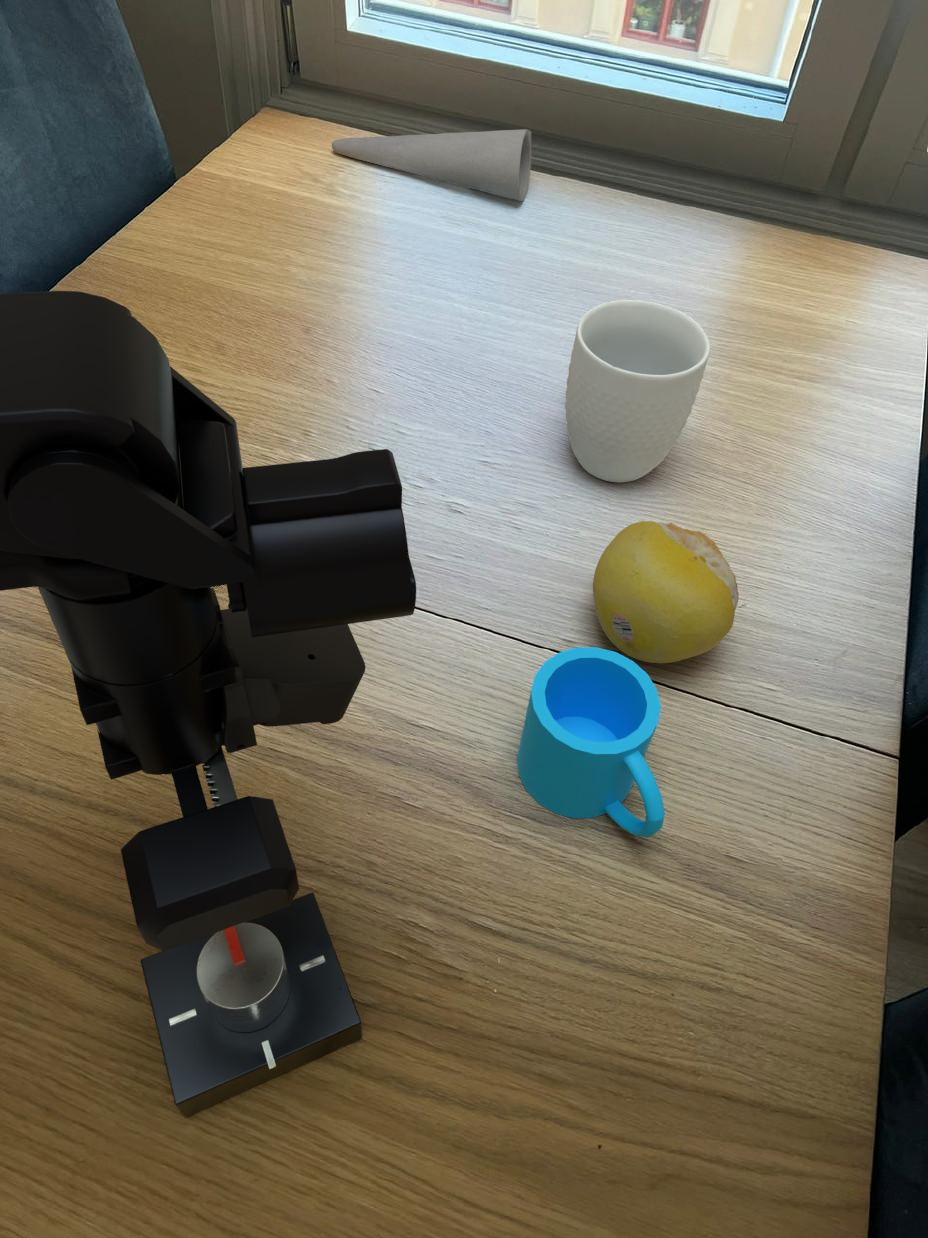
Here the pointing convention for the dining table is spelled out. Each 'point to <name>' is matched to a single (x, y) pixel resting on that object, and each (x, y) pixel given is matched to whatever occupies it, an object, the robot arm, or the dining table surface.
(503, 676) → the dining table surface
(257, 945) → the dial
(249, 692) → the robot arm
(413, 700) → the dining table surface
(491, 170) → the gray cone
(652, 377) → the mug
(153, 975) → the dial panel
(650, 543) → the fruit
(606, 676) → the mug
